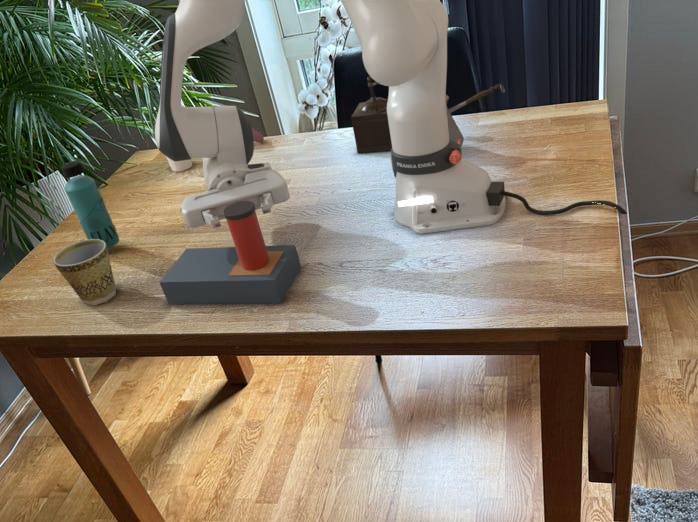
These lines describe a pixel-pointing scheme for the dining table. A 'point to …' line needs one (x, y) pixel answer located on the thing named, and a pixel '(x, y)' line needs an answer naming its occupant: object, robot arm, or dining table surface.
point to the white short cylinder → (179, 164)
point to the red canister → (246, 235)
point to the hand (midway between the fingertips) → (241, 216)
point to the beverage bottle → (89, 205)
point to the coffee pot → (452, 126)
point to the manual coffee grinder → (372, 124)
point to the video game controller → (257, 136)
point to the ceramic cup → (87, 270)
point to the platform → (230, 277)
